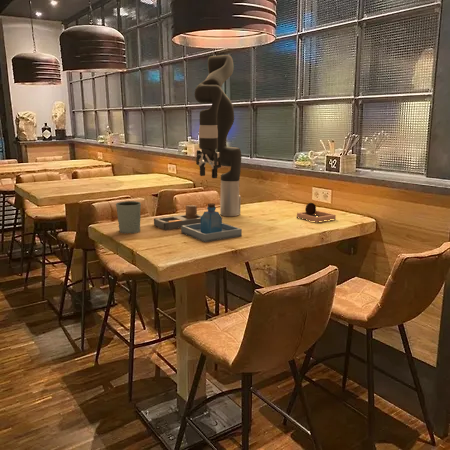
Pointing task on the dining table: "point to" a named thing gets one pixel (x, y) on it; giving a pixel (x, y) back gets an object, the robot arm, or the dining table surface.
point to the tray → (196, 233)
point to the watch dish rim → (323, 217)
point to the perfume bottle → (211, 220)
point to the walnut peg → (191, 211)
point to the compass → (311, 209)
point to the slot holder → (175, 221)
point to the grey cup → (129, 216)
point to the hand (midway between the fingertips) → (208, 176)
